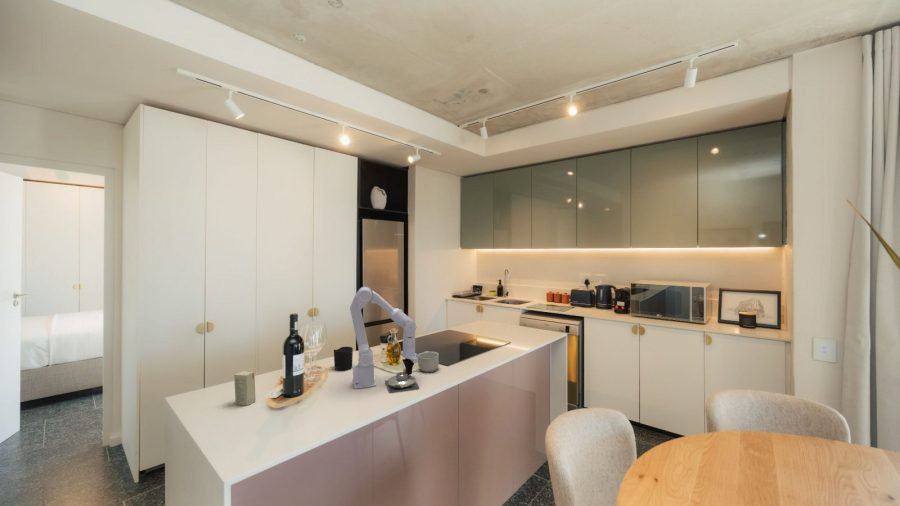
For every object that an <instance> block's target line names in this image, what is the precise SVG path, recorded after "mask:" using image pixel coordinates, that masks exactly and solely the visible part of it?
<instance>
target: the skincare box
mask: <svg viewBox="0 0 900 506" xmlns="http://www.w3.org/2000/svg"><path fill="white" fill-rule="evenodd" d="M233 379H234V380H233V381H234V397H235V398H234V399H235V400H234V401H235V405H237V404H238V405H239V406H249V405H252V404H253V403H256V401H257V398H256V381H255V379H256V378H255V372H254V371H246V370H245V371H244V370H242V371H240V372H237V373H235V374H234V375H233Z"/></svg>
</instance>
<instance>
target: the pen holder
mask: <svg viewBox="0 0 900 506" xmlns="http://www.w3.org/2000/svg"><path fill="white" fill-rule="evenodd" d="M353 349H354V348H353V347H352V346H341V347H339V348H337V349H333V360H334V361H333V363H334V370H335V371H337V372H345V371H349V370H351V369H353V359H354V358H353V357H354V356H353V355H354V354H353V353H354V351H353Z"/></svg>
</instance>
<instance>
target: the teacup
mask: <svg viewBox="0 0 900 506" xmlns="http://www.w3.org/2000/svg"><path fill="white" fill-rule="evenodd" d="M439 355H440V354H439V352H437V351H428V350H425V351H423V352H420V353H417V356H416V357H417V358H418V362H417V366H418V368H419V370H420V371H422V372H425V373H431V372H435V371H436V370H437V368H439V364H440V363H439V361H440V360H439Z"/></svg>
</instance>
